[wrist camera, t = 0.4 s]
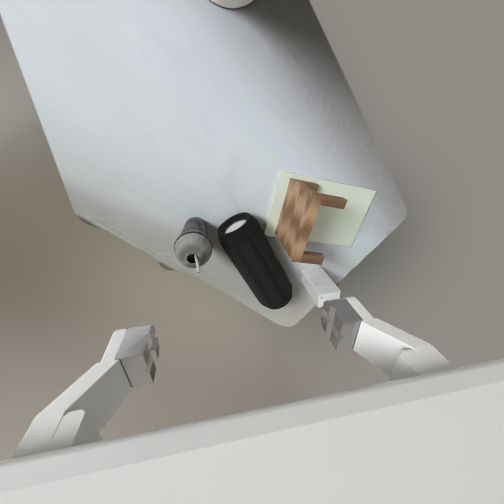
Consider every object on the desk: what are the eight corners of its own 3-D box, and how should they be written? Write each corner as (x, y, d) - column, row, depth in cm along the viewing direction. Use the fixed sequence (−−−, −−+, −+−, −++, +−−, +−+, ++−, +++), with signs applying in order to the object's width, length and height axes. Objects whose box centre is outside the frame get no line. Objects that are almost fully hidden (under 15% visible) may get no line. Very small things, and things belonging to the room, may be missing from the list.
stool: (290, 177, 53) (315, 194, 41) (316, 183, 55) (347, 200, 43) (274, 233, 59) (292, 261, 47) (298, 236, 61) (321, 264, 49)
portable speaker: (288, 278, 68) (300, 301, 59) (258, 294, 69) (266, 318, 60) (249, 205, 55) (257, 220, 46) (213, 225, 56) (214, 243, 47)
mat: (280, 170, 52) (280, 171, 52) (375, 190, 59) (376, 191, 59) (263, 234, 59) (263, 235, 59) (350, 246, 66) (350, 246, 66)
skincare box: (300, 280, 69) (317, 308, 59) (300, 268, 67) (317, 295, 57) (319, 276, 70) (339, 303, 59) (320, 264, 67) (341, 290, 57)
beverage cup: (178, 211, 53) (165, 254, 35) (210, 211, 54) (213, 252, 37) (180, 240, 56) (170, 292, 39) (211, 239, 57) (214, 289, 40)
